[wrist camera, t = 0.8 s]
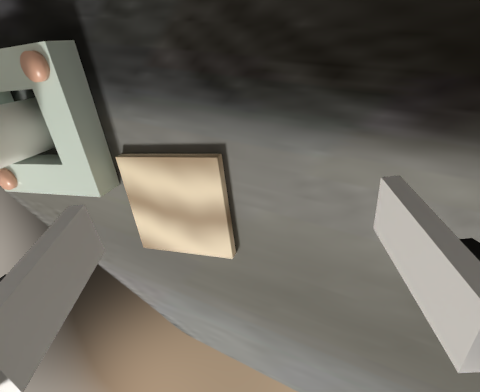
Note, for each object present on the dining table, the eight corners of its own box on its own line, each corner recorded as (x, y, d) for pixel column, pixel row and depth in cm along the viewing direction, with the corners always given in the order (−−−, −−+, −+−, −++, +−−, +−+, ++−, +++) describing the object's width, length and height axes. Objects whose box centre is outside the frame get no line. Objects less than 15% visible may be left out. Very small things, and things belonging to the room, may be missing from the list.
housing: (-29, 57, 31) (-69, 59, 28) (74, 40, 27) (38, 41, 24) (28, 180, 37) (0, 193, 34) (120, 184, 33) (96, 199, 30)
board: (122, 153, 31) (115, 157, 30) (221, 153, 27) (217, 157, 26) (148, 242, 36) (143, 247, 35) (236, 252, 32) (232, 258, 31)
